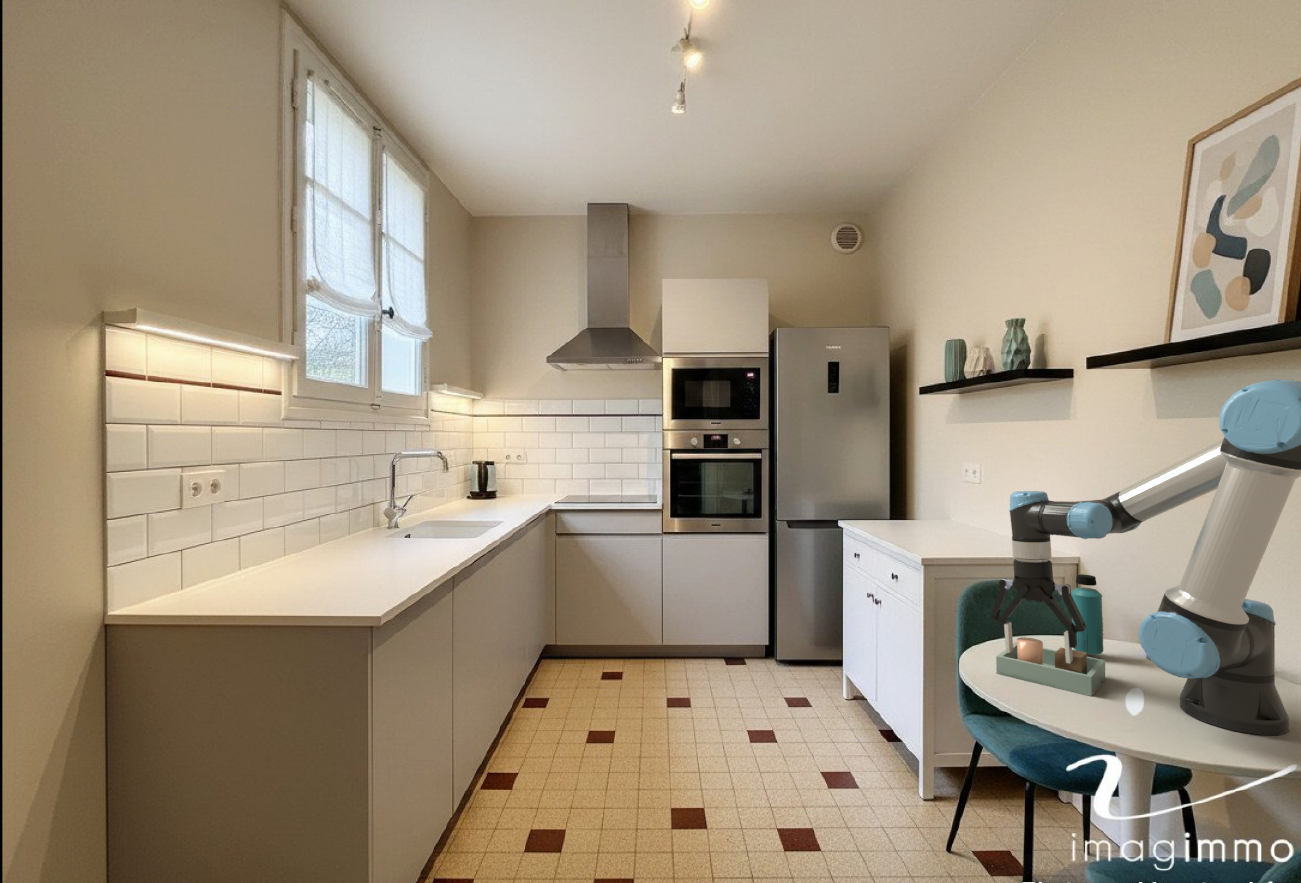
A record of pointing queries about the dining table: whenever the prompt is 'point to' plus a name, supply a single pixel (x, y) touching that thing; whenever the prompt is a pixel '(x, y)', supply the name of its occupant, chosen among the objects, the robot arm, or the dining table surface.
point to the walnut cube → (1076, 665)
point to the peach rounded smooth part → (1030, 650)
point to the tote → (1052, 672)
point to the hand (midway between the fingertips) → (1038, 656)
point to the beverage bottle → (1089, 615)
